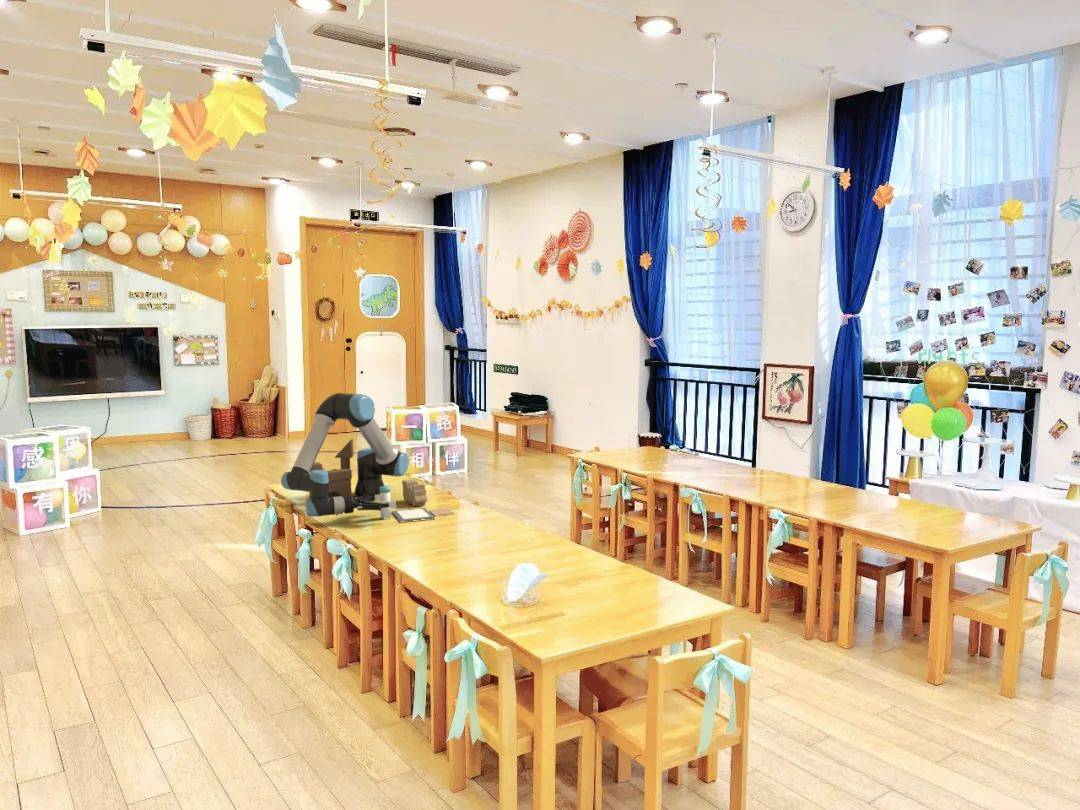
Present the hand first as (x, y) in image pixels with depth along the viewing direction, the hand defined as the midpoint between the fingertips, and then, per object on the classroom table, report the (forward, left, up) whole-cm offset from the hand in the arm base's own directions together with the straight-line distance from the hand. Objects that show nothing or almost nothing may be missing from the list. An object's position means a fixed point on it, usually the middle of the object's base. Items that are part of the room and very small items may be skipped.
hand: (392, 500), depth 350 cm
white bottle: (0, -3, -8) cm, 8 cm away
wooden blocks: (-48, -20, -8) cm, 53 cm away
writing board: (+1, +9, -8) cm, 12 cm away
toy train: (-21, +15, -8) cm, 27 cm away
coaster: (+1, +22, -8) cm, 23 cm away
